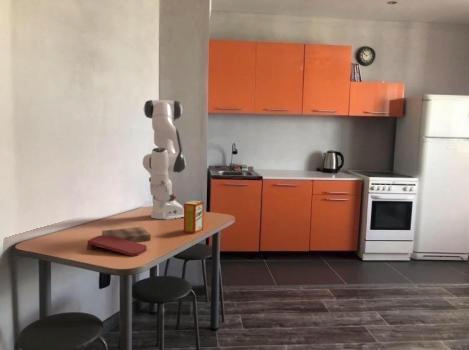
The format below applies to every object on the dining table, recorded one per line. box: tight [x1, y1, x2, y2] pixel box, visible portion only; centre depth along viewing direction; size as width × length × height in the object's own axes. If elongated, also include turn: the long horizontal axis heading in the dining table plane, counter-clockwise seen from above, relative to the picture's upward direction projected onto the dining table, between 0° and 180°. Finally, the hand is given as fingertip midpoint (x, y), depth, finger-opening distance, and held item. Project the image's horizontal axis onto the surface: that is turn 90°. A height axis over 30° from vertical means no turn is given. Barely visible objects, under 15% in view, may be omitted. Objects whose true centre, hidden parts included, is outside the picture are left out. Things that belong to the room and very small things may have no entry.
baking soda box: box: [183, 200, 204, 235], centre depth 218 cm, size 10×6×16 cm
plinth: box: [101, 226, 152, 243], centre depth 201 cm, size 20×16×3 cm
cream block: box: [154, 199, 166, 213], centre depth 207 cm, size 5×5×6 cm
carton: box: [86, 234, 147, 257], centre depth 181 cm, size 12×5×25 cm
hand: (159, 206), depth 207 cm, fingers closed on cream block, 5 cm apart
